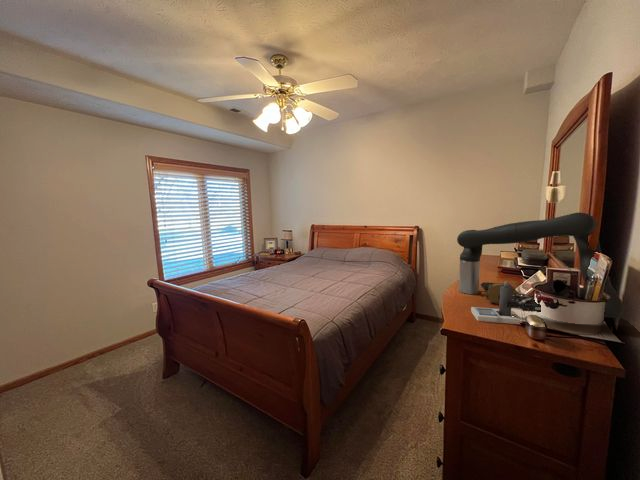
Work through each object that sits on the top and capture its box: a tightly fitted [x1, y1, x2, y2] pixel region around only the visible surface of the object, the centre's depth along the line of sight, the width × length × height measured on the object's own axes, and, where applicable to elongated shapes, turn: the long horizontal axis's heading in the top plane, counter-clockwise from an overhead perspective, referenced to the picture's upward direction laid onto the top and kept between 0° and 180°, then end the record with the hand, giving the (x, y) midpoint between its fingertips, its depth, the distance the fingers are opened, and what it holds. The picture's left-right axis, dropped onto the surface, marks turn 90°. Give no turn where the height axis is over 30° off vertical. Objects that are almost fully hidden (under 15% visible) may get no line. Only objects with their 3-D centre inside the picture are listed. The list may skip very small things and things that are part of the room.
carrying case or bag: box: [480, 282, 496, 291], centre depth 142 cm, size 11×3×15 cm
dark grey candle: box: [498, 280, 512, 316], centre depth 106 cm, size 4×4×15 cm
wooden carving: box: [481, 282, 521, 305], centre depth 122 cm, size 16×5×10 cm, turn 74°
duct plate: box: [470, 306, 523, 325], centre depth 107 cm, size 10×15×2 cm, turn 73°
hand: (502, 300), depth 106 cm, fingers open, 8 cm apart
